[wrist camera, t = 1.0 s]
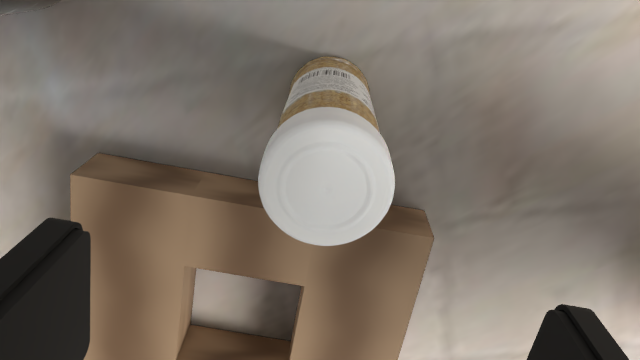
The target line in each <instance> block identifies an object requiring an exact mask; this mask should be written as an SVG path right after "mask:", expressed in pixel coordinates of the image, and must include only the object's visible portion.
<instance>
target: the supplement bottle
mask: <svg viewBox="0 0 640 360" xmlns="http://www.w3.org/2000/svg"><path fill="white" fill-rule="evenodd" d="M60 1H61V0H0V16H1V15H8V14H15V13H22V12H29V11H35V10H40V9H44V8H47V7H50V6H52V5H54V4H56V3H58V2H60Z"/></svg>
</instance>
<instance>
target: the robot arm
mask: <svg viewBox="0 0 640 360" xmlns="http://www.w3.org/2000/svg"><path fill="white" fill-rule="evenodd" d="M90 275H91V237H90V233H89V232H88V231H83V228H82V225H81V224H80V223H79V222H73V221H67V220H61V219H55V218H48V219H46V220H45V221H44V222H43V223H41V224H40V225H39V226H38V227H37V228H36V229H34V230H33V231H32V232H31V233H30V234H29V235H27V236H26V237H25V238H24V239H23V240H22V241H20V242H19V243H18V244H17V245H16V246H15V247H14V248H12V249H11V250H10V251H9V252H8V253H7V254H5V255H4V256H3V257H2V258H1V259H0V360H83V359H84V358H85V356H86V353H87V351H88V348H89V343H90ZM527 360H629V359H628V357H627V356H626V355H625V353H624V352H623V351H622V349H621V348H620V347H619V345H618V344H617V343H616V341H615V340H614V339H613V337H612V336H611V335H610V333H609V332H608V331H607V329H606V328H605V327H604V325H603V324H602V323H601V321H600V320H599V319H598V317H597V316H596V315H595V313H594V312H593V311H592V310H590V309H587V308H581V307H575V306H569V305H563V304H561V305H558V306H557V307H556V308H555V310H549V311H548V312H547V313H546V315H545V317H544V320H543V322H542V324H541V327H540V329H539V332H538V334H537V336H536V339H535V341H534V343H533V346H532V348H531V351H530V353H529V355H528V358H527Z"/></svg>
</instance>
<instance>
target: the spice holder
mask: <svg viewBox="0 0 640 360" xmlns="http://www.w3.org/2000/svg"><path fill="white" fill-rule="evenodd" d="M70 208H71V221H73V222H79V223H80V224H81V225H82V228H83V231H88V232H89V233H90V237H91V275H90V343H89V348H88V351H87V353H86V356H85V358H84V359H83V360H398V357H399V353H400V350H401V347H402V343H403V340H404V337H405V333H406V330H407V327H408V324H409V320H410V317H411V314H412V310H413V307H414V304H415V300H416V297H417V294H418V290H419V287H420V284H421V281H422V277H423V274H424V271H425V267H426V264H427V261H428V257H429V254H430V251H431V247H432V244H433V241H434V236H433V233H432V231H431V228H430V225H429V222H428V220H427V217H426V214H425V211H423V210H418V209H412V208H406V207H401V206H395V205H390V207H389V210H388V212H387V213H386V215H385V216H384V218H383V219H382V220H381V221H380V223H379V224H378V225H377V226H376V227H375V228H374V229H373V230H372V231H370V232H369V233H367V234H366V235H364V236H362V237H361V238H359V239H357V240H354V241H352V242H349V243H346V244H341V245H335V246H320V245H313V244H308V243H305V242H302V241H299V240H297V239H295V238H293V237H291V236H289V235H288V234H286V233H285V232H284V231H282V230H281V229H280V228H279V227H278V226H277V225H276V224H275V223H274V222H273V221H272V220H271V218H270V217H269V215H268V214H267V212H266V210H265V209H264V207H263V204H262V201H261V198H260V195H259V188H258V181H254V180H248V179H243V178H237V177H231V176H226V175H220V174H214V173H209V172H203V171H197V170H192V169H186V168H181V167H175V166H169V165H164V164H158V163H152V162H147V161H141V160H135V159H130V158H124V157H118V156H113V155H107V154H101V153H97V154H96V155H95V156H94V157H92V158H91V159H90V160H88V161H87V162H86V163H85V164H83V165H82V166H81V167H79V168H78V169H77V170H76V171H74V172H73V173H72V174H70ZM196 268H199V269H205V270H211V271H217V272H223V273H229V274H234V275H240V276H246V277H252V278H258V279H264V280H270V281H276V282H282V283H288V284H294V285H299V286H302V287H301V292H300V297H299V302H298V307H297V312H296V317H295V322H294V327H293V332H292V337H291V341H286V340H280V339H274V338H268V337H262V336H256V335H250V334H244V333H237V332H231V331H225V330H219V329H213V328H207V327H201V326H195V325H190V324H191V314H192V305H193V295H194V285H195V275H196Z"/></svg>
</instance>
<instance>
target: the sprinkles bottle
mask: <svg viewBox="0 0 640 360" xmlns="http://www.w3.org/2000/svg"><path fill="white" fill-rule="evenodd" d="M258 188H259V195H260V198H261V201H262V204H263V207H264V209H265V210H266V212H267V214H268V215H269V217H270V218H271V220H272V221H273V222H274V223H275V224H276V225H277V226H278V227H279V228H280V229H281V230H282V231H284V232H285V233H286V234H288V235H289V236H291V237H293V238H295V239H297V240H299V241H302V242H305V243H308V244H313V245H320V246H335V245H341V244H346V243H349V242H352V241H354V240H357V239H359V238H361V237H362V236H364V235H366V234H367V233H369V232H370V231H372V230H373V229H374V228H375V227H376V226H377V225H378V224H379V223H380V221H381V220H382V219H383V218H384V216H385V215H386V213H387V212H388V210H389V207H390V205H391V202H392V199H393V195H394V189H395V175H394V170H393V165H392V160H391V157H390V153H389V150H388V147H387V145H386V143H385V141H384V139H383V137H382V136H381V134H380V131H379V127H378V123H377V120H376V116H375V112H374V108H373V105H372V101H371V98H370V94H369V87H368V83H367V80H366V78H365V77H364V76H363V74H362V72H361V71H360V70H359V69H358V68H357V67H356V66H355V65H354V64H352V63H351V62H349V61H347V60H345V59H343V58H337V57H326V56H325V57H320V58H317V59H314V60H312V61H310V62H308V63H307V64H306V65H304V66H303V67H302V68H301V69H299V71H298V72H297V74H296V75H295V76H294V78H293V80H292V83H291V86H290V92H289V97H288V100H287V102H286V104H285V107H284V109H283V112H282V115H281V118H280V122H279V125H278V129H277V130H276V131H275V132H274V133H273V135H272V136H271V138H270V140H269V142H268V144H267V146H266V149H265V152H264V155H263V158H262V161H261V165H260V169H259V176H258Z"/></svg>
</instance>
